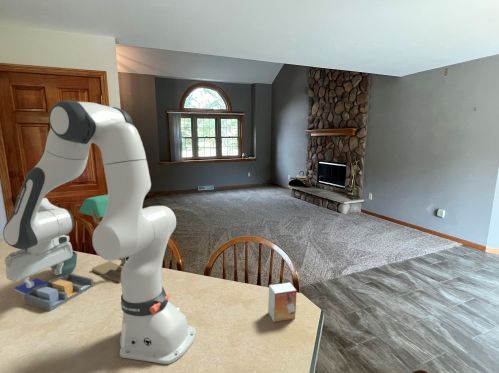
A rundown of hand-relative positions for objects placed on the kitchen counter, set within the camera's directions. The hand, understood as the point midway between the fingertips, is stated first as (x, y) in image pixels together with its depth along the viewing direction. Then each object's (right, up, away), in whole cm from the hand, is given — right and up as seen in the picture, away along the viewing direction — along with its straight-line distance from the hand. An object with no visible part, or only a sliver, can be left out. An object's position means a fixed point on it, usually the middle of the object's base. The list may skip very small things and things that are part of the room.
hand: (45, 280), depth 96 cm
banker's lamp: (+13, -5, +24) cm, 27 cm away
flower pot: (-9, -5, +23) cm, 25 cm away
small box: (+84, -11, -4) cm, 85 cm away
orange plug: (+1, -7, +7) cm, 9 cm away
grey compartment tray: (+1, -8, +7) cm, 10 cm away
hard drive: (-12, -8, +10) cm, 18 cm away
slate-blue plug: (-1, -8, +2) cm, 8 cm away
